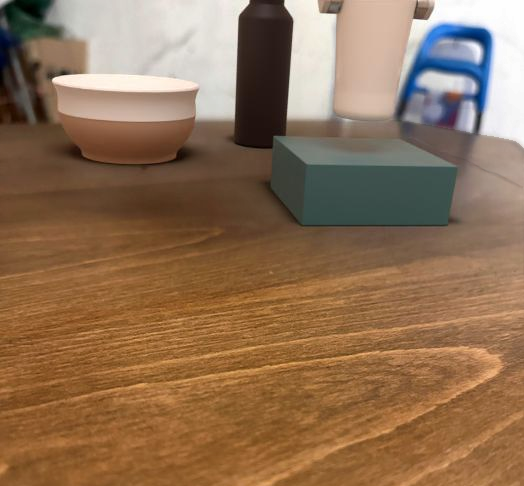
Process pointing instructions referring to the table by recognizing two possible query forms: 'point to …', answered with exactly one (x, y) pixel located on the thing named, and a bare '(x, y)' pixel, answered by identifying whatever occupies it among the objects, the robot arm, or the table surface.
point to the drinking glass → (370, 57)
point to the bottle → (262, 72)
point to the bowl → (126, 115)
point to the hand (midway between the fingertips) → (378, 11)
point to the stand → (361, 181)
